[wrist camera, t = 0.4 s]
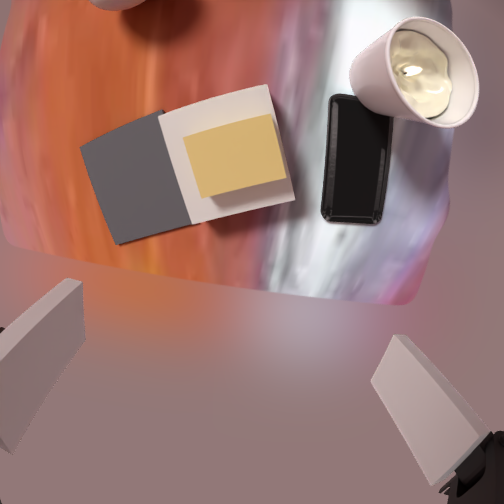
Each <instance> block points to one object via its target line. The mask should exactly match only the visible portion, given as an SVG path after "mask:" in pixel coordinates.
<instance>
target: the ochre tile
mask: <svg viewBox="0 0 504 504" xmlns="http://www.w3.org/2000/svg"><path fill="white" fill-rule="evenodd" d="M183 141H184V144H185V147H186V151H187V154H188V157H189V161H190V164H191V167H192V170H193V174H194V177H195V180H196V183H197V186H198V189H199V193H200V196H201V199H202V198H206V197H210V196H213V195H217V194H221V193H225V192H229V191H233V190H237V189H241V188H245V187H249V186H253V185H257V184H262V183H266V182H270V181H275V180H279V179H284V178H286V173H285V169H284V165H283V161H282V156H281V152H280V148H279V144H278V140H277V136H276V132H275V128H274V124H273V120H272V116H271V113H270V114H266V115H261V116H257V117H253V118H249V119H245V120H241V121H237V122H233V123H229V124H226V125H222V126H218V127H215V128H211V129H208V130H205V131H201V132H198V133H195V134H192V135H189V136H186V137H183Z"/></svg>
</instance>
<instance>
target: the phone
mask: <svg viewBox="0 0 504 504" xmlns="http://www.w3.org/2000/svg"><path fill="white" fill-rule="evenodd" d="M393 118H394V117H390V116H385V115H381V114H377V113H375V112H373V111H371V110H369V109H368V108H367V107H365V106H364V105H363V104H362V103H361V102H360V101H359V99H358V97H357V96H353V95H347V94H335V95H333V96H331V97H330V99H329V103H328V124H327V141H326V156H325V169H324V181H323V192H322V202H321V214H322V216H323V218H324V219H325V220H327V221H332V222H350V223H366V224H375V223H377V222H378V221H379V220H380V219H381V216H382V211H383V205H384V199H385V193H386V186H387V179H388V171H389V163H390V154H391V144H392V132H393Z"/></svg>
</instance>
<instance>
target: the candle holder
mask: <svg viewBox="0 0 504 504" xmlns="http://www.w3.org/2000/svg"><path fill="white" fill-rule="evenodd" d="M349 79H350V84H351V88H352V90H353V92H354V94H355V96H357V97H358V99H359V101H360V102H361V103H362V104H363V105H364V106H365V107H367V108H368V109H369V110H371V111H373V112H375V113H377V114H381V115H385V116H390V117H396V118H401V119H406V120H411V121H416V122H421V123H425V124H429V125H432V126H435V127H438V128H455V127H458V126H460V125H462V124H464V123H465V122H466V121H467V120H468V119H469V118H470V117H471V116H472V114H473V113H474V111H475V108H476V106H477V103H478V98H479V79H478V74H477V70H476V67H475V65H474V62H473V59H472V57H471V55H470V53H469V51H468V50H467V48H466V47H465V45H464V44H463V43H462V41H461V40H460V39H459V38H458V37H457V36H456V35H455V34H454V33H453V32H452V31H451V30H450V29H448V28H447V27H446V26H444V25H443V24H441V23H439V22H437V21H435V20H432V19H429V18H425V17H410V18H406V19H404V20H402V21H400V22H398V23H397V24H396V25H395V26H394V27H393V28H392V29H390V30H389V31H388V32H386V33H385V34H384V35H382V36H381V37H380V38H378V39H377V40H376V41H374V42H373V43H372V44H370V45H369V46H368V47H367V48H365V49H364V50H363V51H362V52H360V53H359V54H358V55H357V56H356V57H355V59H354V60H353V62H352V64H351V67H350V72H349Z"/></svg>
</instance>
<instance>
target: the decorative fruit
mask: <svg viewBox="0 0 504 504" xmlns="http://www.w3.org/2000/svg"><path fill="white" fill-rule="evenodd" d="M89 1H90V2H91V3H92V4H93V5H95V6H96V7H98V8H100V9H103V10H109V11H118V10H125V9H129V8H132V7H135V6H137V5H139V4H141V3H142V2H144V1H146V0H89Z"/></svg>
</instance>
